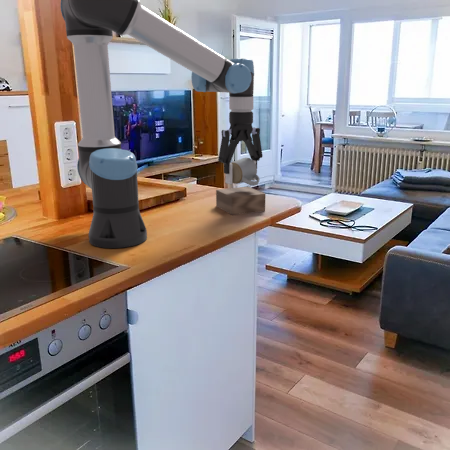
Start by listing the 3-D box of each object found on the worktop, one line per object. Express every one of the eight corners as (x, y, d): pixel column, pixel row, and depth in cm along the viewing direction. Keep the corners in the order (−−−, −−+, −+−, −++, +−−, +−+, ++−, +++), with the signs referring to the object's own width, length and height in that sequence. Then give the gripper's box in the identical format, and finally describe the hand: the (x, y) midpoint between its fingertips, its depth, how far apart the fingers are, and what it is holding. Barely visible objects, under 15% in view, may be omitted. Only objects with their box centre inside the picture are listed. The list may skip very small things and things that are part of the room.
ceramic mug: (223, 182, 155) (223, 159, 153) (239, 178, 161) (239, 156, 159) (249, 187, 149) (250, 163, 147) (264, 183, 155) (265, 160, 153)
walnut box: (232, 215, 151) (232, 197, 149) (216, 207, 161) (216, 189, 160) (265, 211, 156) (265, 193, 154) (247, 203, 166) (247, 186, 165)
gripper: (259, 108, 158) (258, 176, 165) (205, 111, 146) (206, 184, 153) (275, 110, 153) (273, 179, 159) (220, 113, 140) (220, 188, 147)
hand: (240, 181), depth 156 cm, fingers closed on ceramic mug, 9 cm apart
